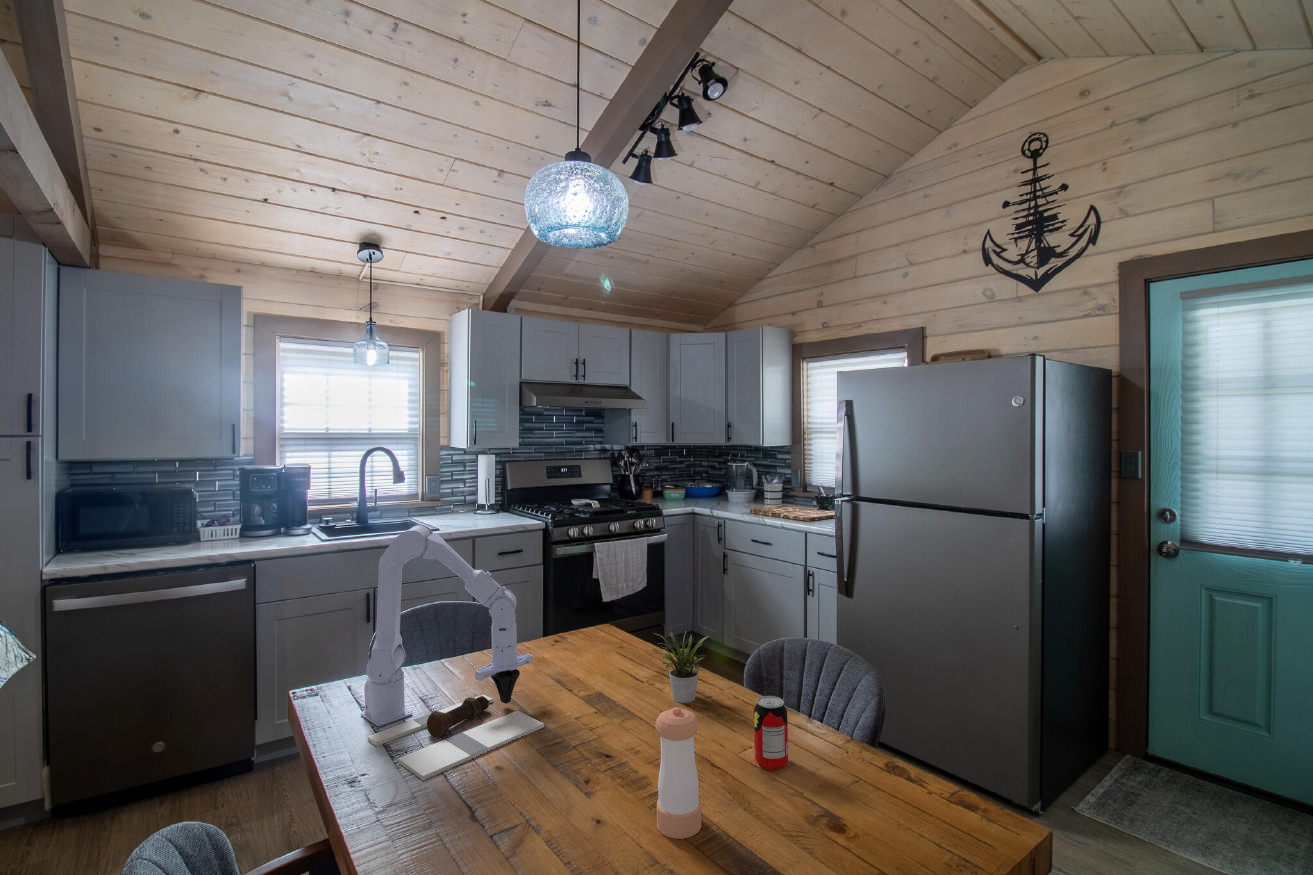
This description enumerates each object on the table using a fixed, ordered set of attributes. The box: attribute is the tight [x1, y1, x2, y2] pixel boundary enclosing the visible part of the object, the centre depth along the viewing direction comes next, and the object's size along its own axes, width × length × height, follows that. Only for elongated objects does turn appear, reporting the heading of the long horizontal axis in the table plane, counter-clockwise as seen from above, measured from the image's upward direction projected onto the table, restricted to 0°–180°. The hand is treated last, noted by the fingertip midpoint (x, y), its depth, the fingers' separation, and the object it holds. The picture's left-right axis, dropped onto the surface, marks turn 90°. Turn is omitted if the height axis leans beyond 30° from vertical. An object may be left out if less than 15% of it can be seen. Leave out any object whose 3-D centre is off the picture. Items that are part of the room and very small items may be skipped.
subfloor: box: [367, 694, 545, 781], centre depth 138 cm, size 24×28×1 cm
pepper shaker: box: [655, 706, 702, 840], centre depth 104 cm, size 7×7×19 cm
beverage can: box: [753, 695, 789, 771], centre depth 123 cm, size 6×6×12 cm
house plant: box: [652, 630, 710, 704], centre depth 153 cm, size 14×14×16 cm
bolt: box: [426, 695, 490, 739], centre depth 143 cm, size 6×5×15 cm
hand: (505, 701), depth 151 cm, fingers closed
